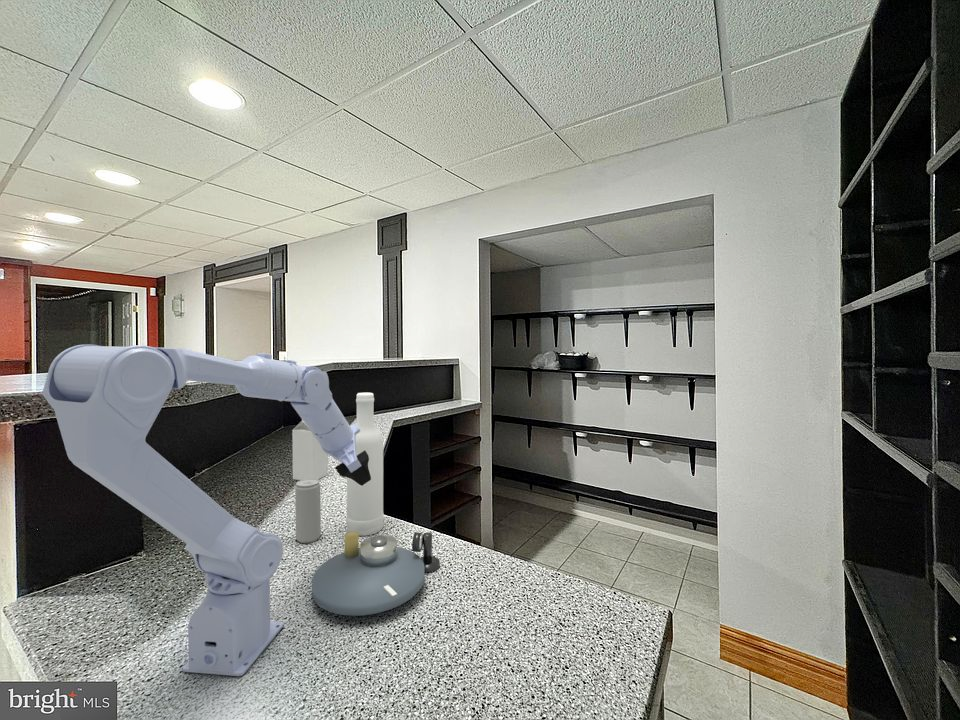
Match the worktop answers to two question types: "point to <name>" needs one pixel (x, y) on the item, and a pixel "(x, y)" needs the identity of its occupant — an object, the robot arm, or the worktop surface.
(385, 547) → the cover
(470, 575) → the worktop surface
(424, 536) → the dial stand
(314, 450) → the milk carton
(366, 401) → the bottle
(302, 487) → the beverage can
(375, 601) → the turntable
